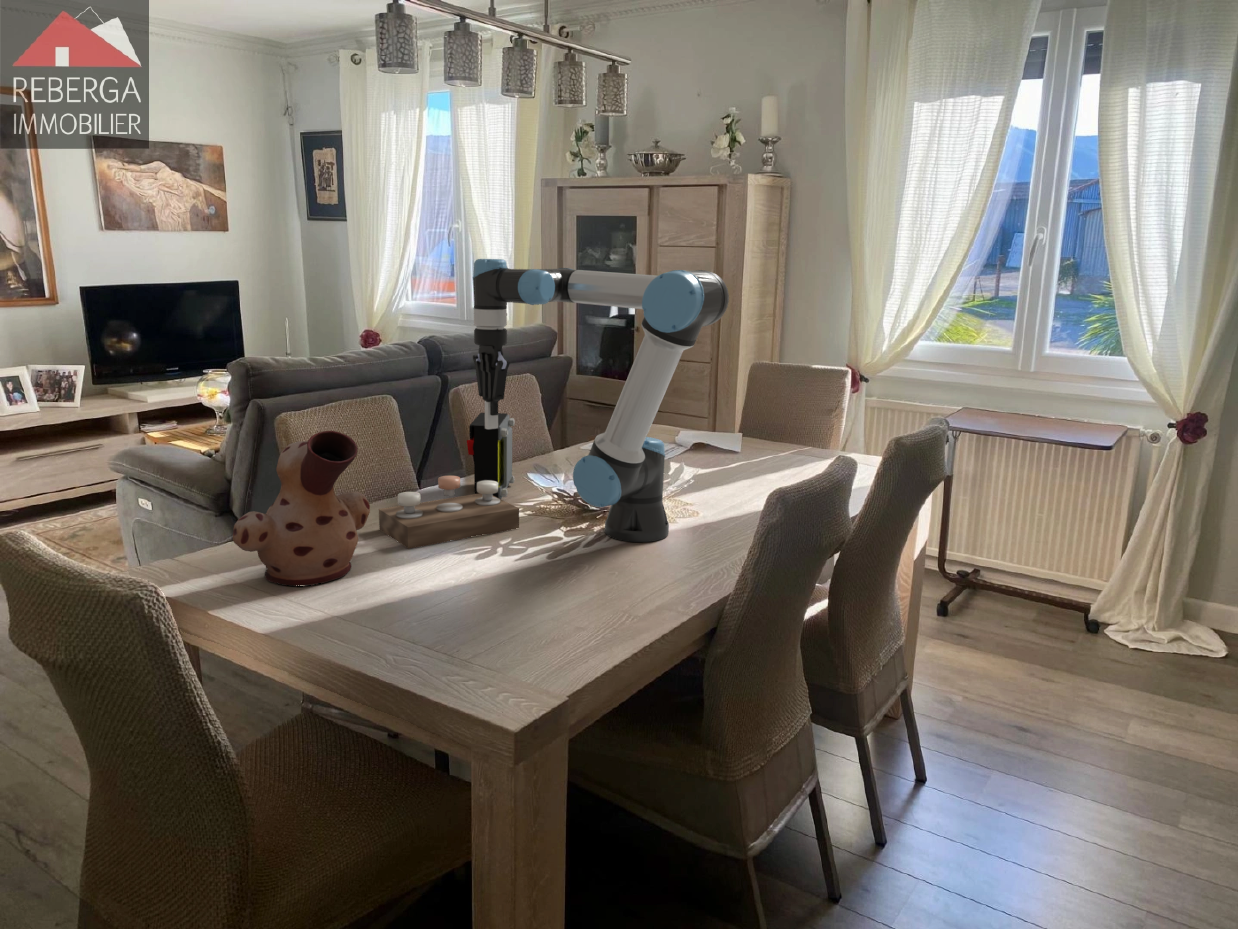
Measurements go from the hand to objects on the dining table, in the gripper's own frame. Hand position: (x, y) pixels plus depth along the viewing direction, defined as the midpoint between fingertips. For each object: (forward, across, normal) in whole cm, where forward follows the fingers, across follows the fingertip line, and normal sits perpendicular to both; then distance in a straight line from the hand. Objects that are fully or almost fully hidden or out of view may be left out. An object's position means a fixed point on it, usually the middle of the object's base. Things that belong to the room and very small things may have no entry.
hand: (491, 428), depth 218 cm
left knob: (+17, 0, +21) cm, 27 cm away
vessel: (+23, -12, +48) cm, 54 cm away
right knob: (+17, 0, +1) cm, 17 cm away
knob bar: (+23, 0, +11) cm, 26 cm away
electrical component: (+23, +23, -13) cm, 35 cm away
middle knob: (+15, 0, +11) cm, 19 cm away
